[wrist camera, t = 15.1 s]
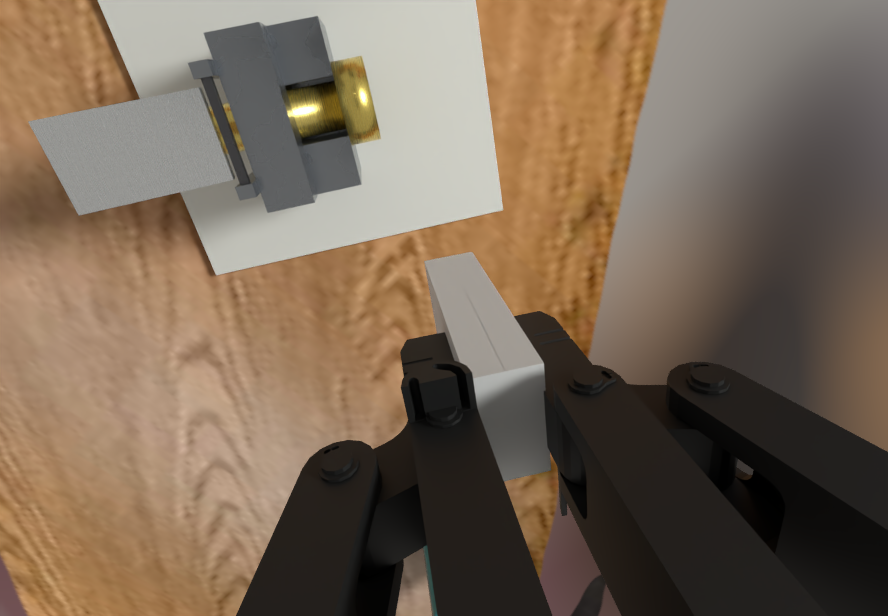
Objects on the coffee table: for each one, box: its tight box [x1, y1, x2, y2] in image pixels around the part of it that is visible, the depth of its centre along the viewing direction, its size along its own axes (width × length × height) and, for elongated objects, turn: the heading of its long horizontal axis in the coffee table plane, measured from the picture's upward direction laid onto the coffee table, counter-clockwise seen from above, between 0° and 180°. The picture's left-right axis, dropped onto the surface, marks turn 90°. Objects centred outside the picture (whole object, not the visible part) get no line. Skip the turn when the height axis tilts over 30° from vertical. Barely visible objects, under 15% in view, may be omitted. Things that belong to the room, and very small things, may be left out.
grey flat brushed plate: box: [29, 87, 235, 215], centre depth 27 cm, size 1×5×8 cm
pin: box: [209, 56, 381, 154], centre depth 32 cm, size 13×5×5 cm, turn 101°
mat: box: [98, 0, 503, 275], centre depth 37 cm, size 22×25×1 cm
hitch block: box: [188, 16, 362, 213], centre depth 32 cm, size 7×10×10 cm
